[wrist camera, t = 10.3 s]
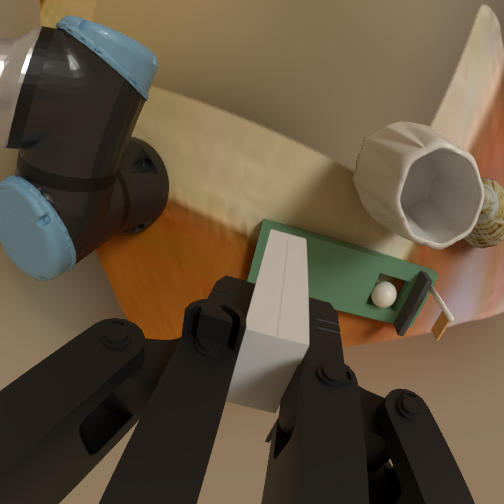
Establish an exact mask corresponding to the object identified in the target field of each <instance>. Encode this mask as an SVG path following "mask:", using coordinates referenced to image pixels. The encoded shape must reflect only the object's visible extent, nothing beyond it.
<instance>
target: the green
mask: <svg viewBox="0 0 504 504" xmlns="http://www.w3.org/2000/svg"><path fill="white" fill-rule="evenodd" d="M271 229H273V230H276V231H280V232H284V233H287V234H291V235H294V236H298V237H301V238H305V239H306V244H307V267H308V296H309V297H311V298H314V299H318V300H322V301H326V302H330V303H331V305H332V306H333V308H334V309H335V310H339V311H343V312H347V313H351V314H355V315H359V316H363V317H367V318H371V319H376V320H380V321H384V322H388V323H392V324H394V326H395V329H396V332H397V334H398V335H400V336H403V335H404V334H405V332H406V330H407V329H408V327H410V328H411V326H412V325H413V323H414V321H415V319H416V318H417V316H418V314H419V312H420V310H421V309H422V307H423V305H424V303H425V301H426V299H427V297H428V296H429V294H430V292H431V294H432V295H433V297H434V298H435V300H436V301H437V303H438V304H439V306H440V308H441V309H442V312H441V314H440V316H439V317H438V319H437V321H436V322H435V324H434V326H433V327H432V329H431V330H432V332H433V334H434V336H435V338H436V340H439V339H440V337H441V335H442V334H443V332H444V331H445V329H446V327H447V326H448V324H449V322H452V321H453V320H454V317H453V316H452V314H451V313H450V311H449V309H448V308H447V306H446V305H445V303H444V302H443V300H442V299H441V297H440V296H439V294H438V293H437V291H436V290H435V288H434V287H433V286H434V284H435V282H436V280H437V278H438V275H437V274H436V272H435V271H434V270H432V269H429V268H426V267H423V266H420V265H417V264H413V263H410V262H407V261H404V260H401V259H398V258H395V257H391V256H388V255H385V254H382V253H379V252H375V251H372V250H369V249H366V248H362V247H359V246H356V245H352V244H349V243H346V242H342V241H339V240H336V239H332V238H329V237H325V236H322V235H319V234H315V233H312V232H308V231H305V230H301V229H298V228H294V227H291V226H287V225H283V224H280V223H276V222H273V221H269V220H265V219H264V220H263V223H262V227H261V231H260V234H259V238H258V242H257V246H256V250H255V253H254V257H253V261H252V265H251V269H250V272H249V276H248V280H247V281H248V282H251V283H255V284H256V281H257V277H258V274H259V270H260V267H261V263H262V259H263V256H264V252H265V249H266V245H267V241H268V238H269V234H270V231H271ZM380 273H382V274H385V275H389V276H392V277H395V278H399V279H402V280H405V281H404V283H403V286H402V288H401V290H400V292H399V294H398V296H397V298H396V300H395V302H394V304H393V305H391V306H389V307H386V308H381V307H378V306H376V305H375V304H374V303H373V301H372V299H369V296H370V294H371V292H372V290H373V288H374V285H375V283H376V281H377V279H378V277H379V274H380Z"/></svg>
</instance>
